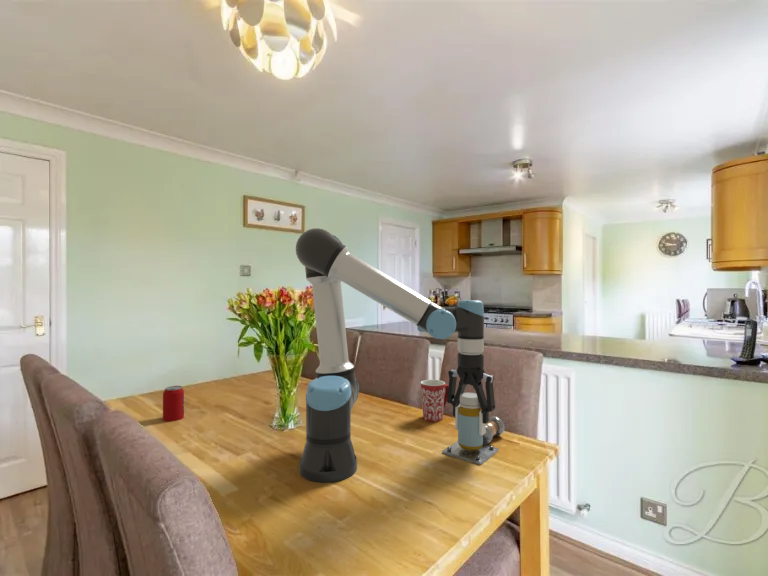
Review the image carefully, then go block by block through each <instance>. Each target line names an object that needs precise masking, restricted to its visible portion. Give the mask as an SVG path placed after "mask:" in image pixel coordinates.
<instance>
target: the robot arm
mask: <svg viewBox="0 0 768 576" xmlns="http://www.w3.org/2000/svg"><path fill="white" fill-rule="evenodd" d="M295 253H296V254H295V255H296V257H297V259H298V261H299V262H300V264H302V266H304V267H305V278H306V281H307V282H309V283H310V284H311V285H312V296H313V306H314V307H313V308H314V317H315V318H314V319H315V327H316V335H317V336H316V338H317V345H318V346H317V347H318V356H319V358H318V359H319V366H318V367H317V368H316V369H315V378H314V379H312V380H311V381H309V382H308V384H307V386H306V392H305V401H306V402H305V405H306V406H305V408H306V409H305V414H306V415H305V417H306V418H305V423H306V425H305V430H306V431H305V434H306V435H305V436H306V437H305V438H306V441H305V445H304V448H303V452H302V456H301V458H300V460H299V467H298V469H299V475H300V476H301V477H302V478H304V479H306V480H307V481H310V482H315V483H335V482H340V481H342V480H346V479H348V478H351V476H353V475H354V474H355V473H356V472H357V470H358V458H357V455H356V453H355V449H354V445H353V443H352V439H351V430H352V429H351V427H352V426H351V425H352V423H351V421H352V419H351V415H352V413H351V412H352V409H354V408H353V407H354V405H355V404H356V402H357V400H358V397H359V393H360V386H359V383H358V380H357V378H356V370H355V365H354V364H353V363H352V362H351V361H350V360H349V352H348V351H349V349H348V341H347V332H346V320H345V311H344V310H345V309H344V301H343V293H342V292H343V290H342V282H343V283H344V284H345V285H348V286H349V287H350V288H352V289H354V290H355V291H357V292H360V293H361V294H363V295H365V296H366V297H368V298H369V299H371V300H372V301H375V302H376V303H378V304H380V305H381V306H383V307H385V308H386V309H388V310H389V311H391V312H393V313H395V314H397V315H398V316H400V317H402V318H403V319H405V320H407V321H408V322H410V323H412V324H414V325H415V326H416V327H417V329H416V330H417V331H418V332H420V333H426V334H427V333H428V334H429V335H430V336H431V337H432V338H435V339H438V340H446V339H448V338H451V336H453V334H454V333H457V351H458V353H457V369H450V370H448V373H447V374H448V386H449V387H448V396H447V402H446V403H448V404H451V406H452V416H453V417H454V418H455V422H454V423H455V426H454V429H455V430H457V431H458V410H459V407H460V394H462V393H465V389H466V387H467V385H470V386H472V387H473V390H474V391H475V393H476V394H477V397H478V400H479V403H480V407H481V410H482V411H481V412H479V435H481V436H482V435H483V434H485V433H486V424H487V423H488V421H489V418H490V417H489V415H490V414H489V413H490V412H493V411H495V409H496V401H495V392H494V379H495V376H494V374H488V373H486V372H485V370H484V367H485V365H484V364H485V363H484V362H485V359H484V358H485V356H484V351H485V345H484V344H485V338H484V337H485V336H484V335H485V333H484V332H485V311H484V310H485V308H484V307H485V306H484V303H483V301H481V300H477V299H460V300H458V302H457V305H456V306H440V305H439V304H436V302H433V301H432V300H430V299H428V298H426V297H425V296H423V295H422V294H420V293H419V292H416V291H415V290H414V289H412V288H410V287H408V286H407V285H405V284H403V283H401V282H400V281H398V280H397V279H394V278H393V277H391V276H390V275H389V274H386V273H385V272H383V271H381V270H379V269H378V268H376V267H375V266H373V265H371V264H369V263H368V262H365V261H364V260H362V259H360V258H359V257H357V256H356V255H355V254H352V253H350V251H349V247H348V246H346V245H345V244H343V242H342V241H341V240H340V239H339V238H338V237H337V236H335V235H333V234H332V233H331V232H329V231H328V230H326V229H323V228H317V227H316V228H310V229H307V230H305V231H304V232H303V233H301V235H299V237H298V239H297V242H296V244H295ZM457 377H459V380H458V381H459V382H458V386H457V379H458V378H457ZM482 380H484V381H483V382H485V387H484V388H485V391H484V388H483V382H482ZM456 388H457V390H456Z"/></svg>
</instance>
